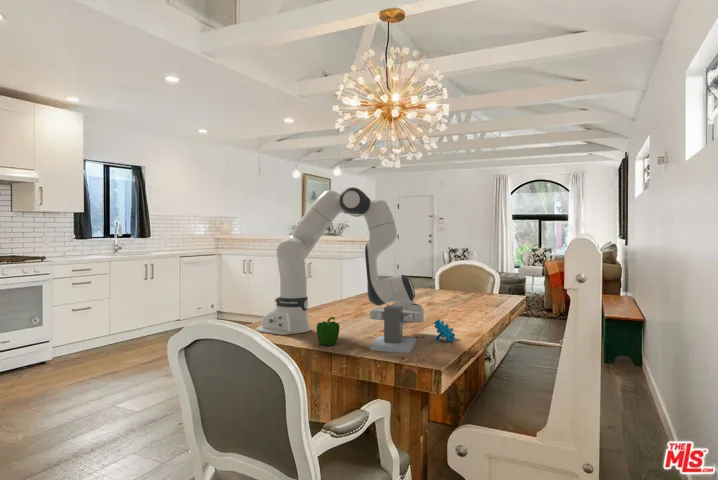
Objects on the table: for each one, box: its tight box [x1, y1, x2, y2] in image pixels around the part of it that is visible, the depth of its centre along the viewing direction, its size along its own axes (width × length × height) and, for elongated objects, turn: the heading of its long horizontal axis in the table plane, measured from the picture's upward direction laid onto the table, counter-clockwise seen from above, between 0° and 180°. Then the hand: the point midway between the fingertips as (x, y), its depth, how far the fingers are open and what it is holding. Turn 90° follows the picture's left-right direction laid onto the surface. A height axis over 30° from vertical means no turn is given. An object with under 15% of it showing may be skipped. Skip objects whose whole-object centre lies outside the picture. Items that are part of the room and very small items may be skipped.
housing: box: [383, 304, 404, 344], centre depth 162 cm, size 6×6×12 cm
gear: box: [434, 319, 457, 343], centre depth 173 cm, size 11×6×10 cm
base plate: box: [369, 335, 417, 354], centre depth 162 cm, size 14×14×6 cm
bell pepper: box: [316, 316, 340, 346], centre depth 166 cm, size 8×8×10 cm
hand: (393, 318), depth 161 cm, fingers open, 8 cm apart
